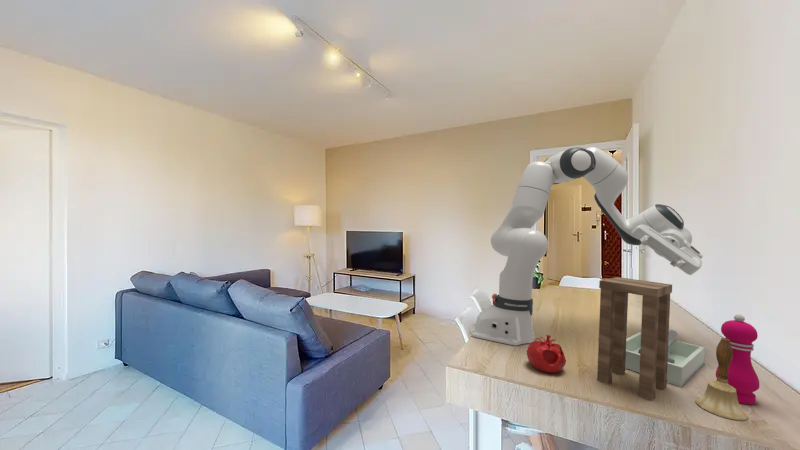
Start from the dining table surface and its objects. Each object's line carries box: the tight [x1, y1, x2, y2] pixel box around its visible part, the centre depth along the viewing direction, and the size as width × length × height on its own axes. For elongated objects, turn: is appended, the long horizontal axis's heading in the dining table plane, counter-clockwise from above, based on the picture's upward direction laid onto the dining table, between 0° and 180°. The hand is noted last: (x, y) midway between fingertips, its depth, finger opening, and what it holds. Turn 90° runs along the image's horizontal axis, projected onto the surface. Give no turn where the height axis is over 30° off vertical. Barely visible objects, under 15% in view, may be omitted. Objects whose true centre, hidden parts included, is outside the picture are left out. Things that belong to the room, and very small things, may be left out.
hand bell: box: [694, 337, 749, 422], centre depth 70 cm, size 8×8×16 cm
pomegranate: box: [526, 334, 567, 374], centre depth 88 cm, size 10×10×9 cm
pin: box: [638, 329, 679, 364], centre depth 96 cm, size 17×8×2 cm, turn 125°
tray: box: [625, 331, 706, 388], centre depth 94 cm, size 25×16×5 cm, turn 126°
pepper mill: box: [715, 314, 761, 406], centre depth 76 cm, size 7×7×20 cm
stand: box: [596, 276, 673, 402], centre depth 81 cm, size 12×12×26 cm
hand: (658, 252), depth 98 cm, fingers open, 8 cm apart
